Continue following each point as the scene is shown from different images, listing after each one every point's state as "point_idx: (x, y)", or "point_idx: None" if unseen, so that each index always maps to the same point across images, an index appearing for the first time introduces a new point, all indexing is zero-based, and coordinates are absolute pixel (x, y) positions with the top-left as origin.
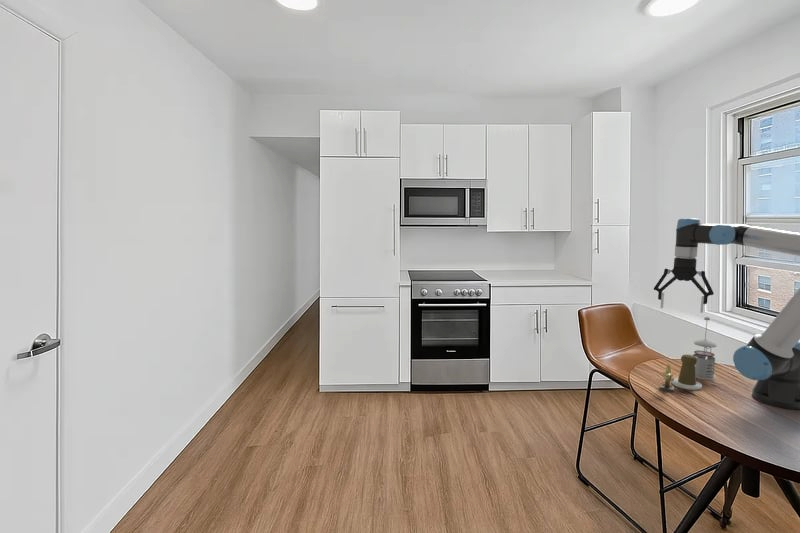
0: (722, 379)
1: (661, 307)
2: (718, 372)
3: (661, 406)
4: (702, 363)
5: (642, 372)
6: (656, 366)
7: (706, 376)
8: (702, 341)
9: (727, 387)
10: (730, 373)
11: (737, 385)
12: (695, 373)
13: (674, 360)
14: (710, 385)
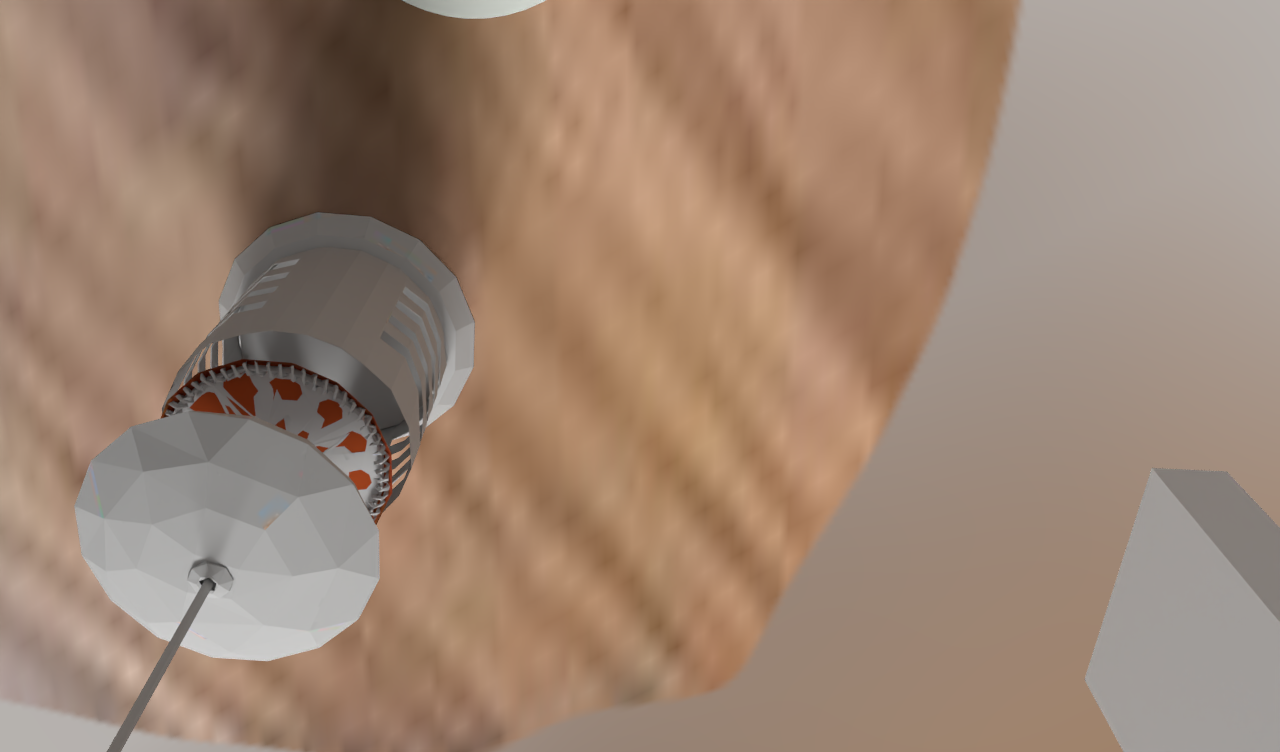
0: (164, 311)
1: (1209, 489)
2: None
3: None
4: (303, 305)
5: (939, 85)
6: (780, 396)
7: (295, 255)
8: (243, 516)
9: (81, 50)
10: None
11: (11, 186)
12: (401, 278)
13: (613, 673)
14: (239, 17)
